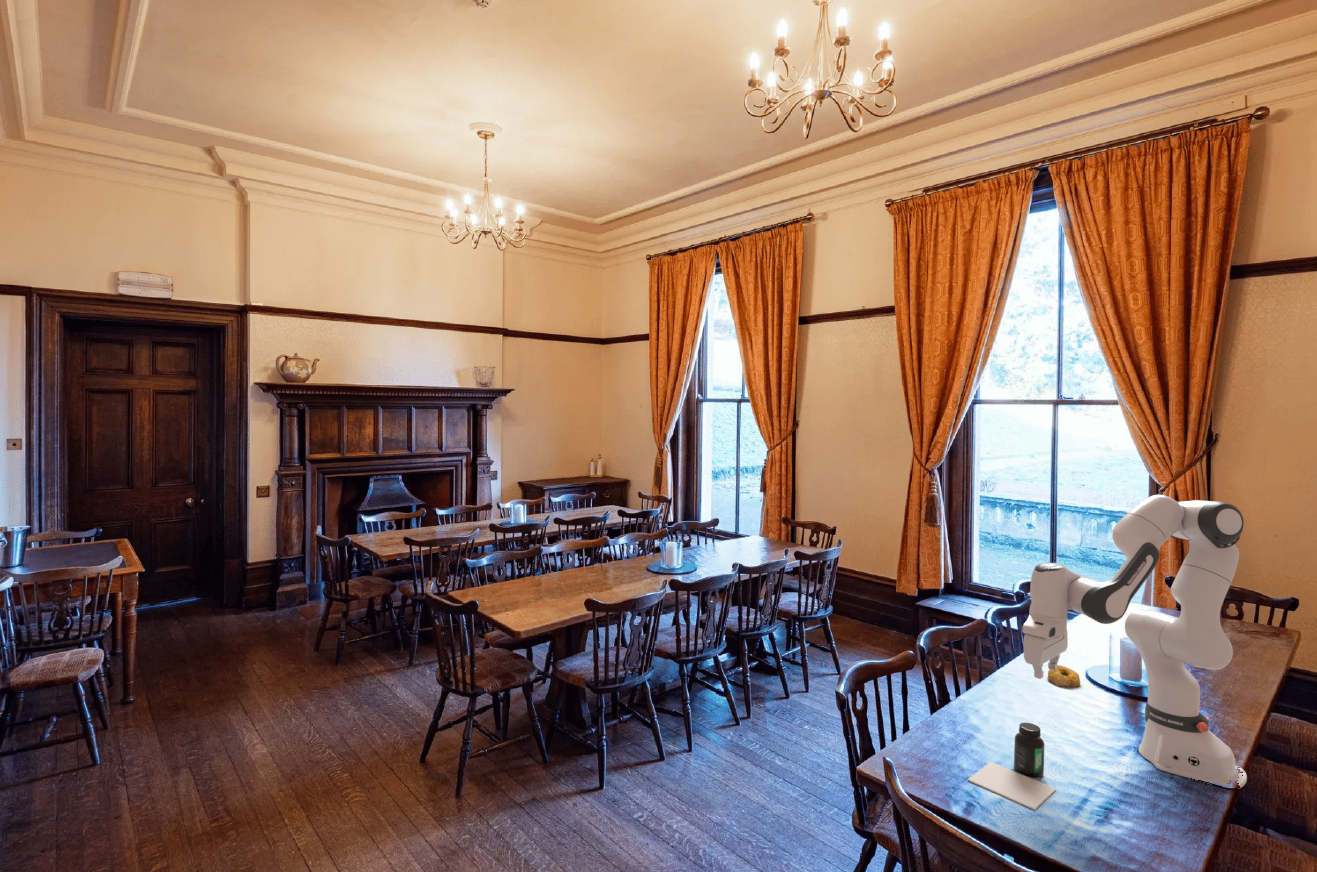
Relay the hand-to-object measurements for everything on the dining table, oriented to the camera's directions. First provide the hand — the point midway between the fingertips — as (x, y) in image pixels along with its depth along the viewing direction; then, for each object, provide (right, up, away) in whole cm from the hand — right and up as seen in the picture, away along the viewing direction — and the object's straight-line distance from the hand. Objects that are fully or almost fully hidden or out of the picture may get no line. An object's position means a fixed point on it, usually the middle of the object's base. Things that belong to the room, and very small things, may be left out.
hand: (1045, 673), depth 179 cm
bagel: (+37, -22, +51) cm, 67 cm away
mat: (-16, -24, -12) cm, 31 cm away
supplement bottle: (-8, -24, -6) cm, 26 cm away
